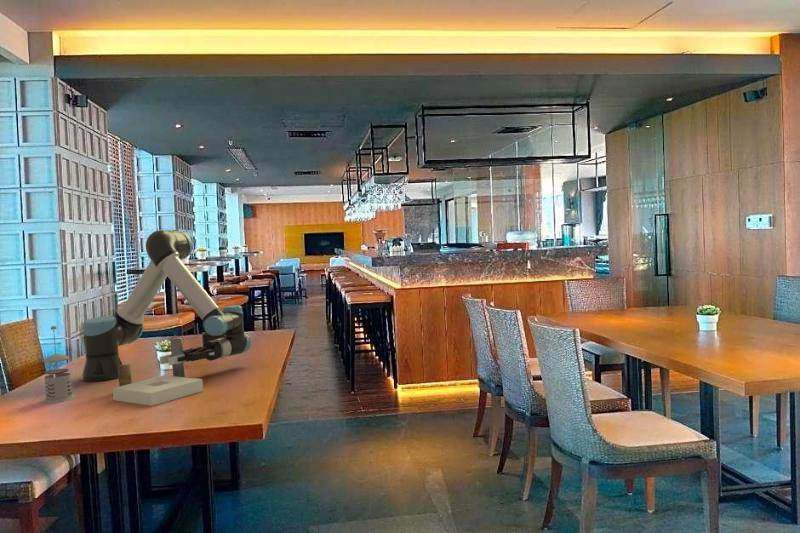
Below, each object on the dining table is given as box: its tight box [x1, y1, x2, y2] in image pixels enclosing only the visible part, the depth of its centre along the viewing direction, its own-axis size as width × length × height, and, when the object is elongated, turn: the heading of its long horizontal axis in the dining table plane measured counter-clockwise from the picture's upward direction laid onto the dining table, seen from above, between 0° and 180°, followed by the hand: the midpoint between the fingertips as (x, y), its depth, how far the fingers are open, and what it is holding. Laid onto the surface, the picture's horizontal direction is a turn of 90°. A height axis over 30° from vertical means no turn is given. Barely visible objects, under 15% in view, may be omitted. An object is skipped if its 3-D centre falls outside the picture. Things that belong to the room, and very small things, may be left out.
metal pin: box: [169, 337, 186, 377], centre depth 232 cm, size 4×4×16 cm
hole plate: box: [112, 374, 204, 407], centre depth 214 cm, size 20×20×4 cm
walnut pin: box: [118, 363, 133, 387], centre depth 223 cm, size 4×4×9 cm
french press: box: [42, 325, 76, 404], centre depth 217 cm, size 10×12×25 cm
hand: (164, 360), depth 228 cm, fingers closed on metal pin, 4 cm apart
